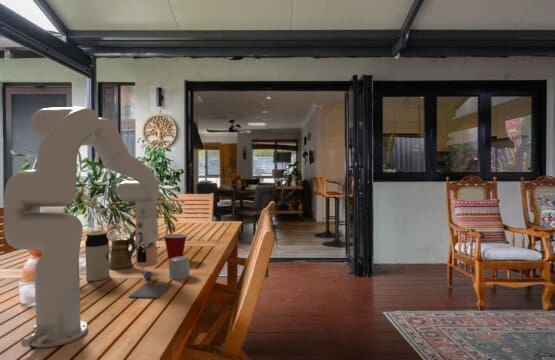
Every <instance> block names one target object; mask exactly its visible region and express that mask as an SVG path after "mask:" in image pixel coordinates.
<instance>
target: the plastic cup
mask: <svg viewBox="0 0 555 360" xmlns="http://www.w3.org/2000/svg"><path fill="white" fill-rule="evenodd" d="M162 236H163V238H164V242H165V247H166V252H167V253H166V254H167V256H168V257H167V258H168V262H169V261H170V259H171V258H173V257H180V256H184V251H185V247H186V245H185V244H186V240H187V237H188V234H184V233H169V234H164V235H162Z"/></svg>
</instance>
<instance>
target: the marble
mask: <svg viewBox="0 0 555 360" xmlns="http://www.w3.org/2000/svg"><path fill="white" fill-rule="evenodd" d="M152 276H153V274H152V272H151V271H149V270H147V271H145V272H144V274H143V278H144V279H145V280H150V279H152Z"/></svg>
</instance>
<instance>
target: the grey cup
mask: <svg viewBox="0 0 555 360" xmlns="http://www.w3.org/2000/svg"><path fill="white" fill-rule="evenodd" d="M168 270H169V271H168V272H169V273H168V274H169V275H168V277H169V279H171V280H183V279H187V278H188V277H189V276H190V274H191V272H190V259H189V257H187V256H184V255H183V256H180V257H173V258H171V259H170V261H169V260H168Z"/></svg>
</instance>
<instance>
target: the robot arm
mask: <svg viewBox="0 0 555 360" xmlns="http://www.w3.org/2000/svg"><path fill="white" fill-rule="evenodd" d="M30 126H31V128H32V129H31V130H32V131H33V132H34V134H36V135H37V136H38V137H39V138H41V141H40V143H39V145H38V149H37V158H36V168H35V169H24V170H20V171H17V172H15V173H14V174H12V175H11V176H10V177H9V179H8V181H7V183H6V185H5V188H4V193H3V194H4V196H3V232H4V233H3V234H4V238H5V240H6V242H7V244H8V245H9V246H11V247H12V248H13V249H14V248H15V249H18V250H28V251H29V250H30V251H42V252H41V254H40V257H39V258H38V260H37V262H36V264H35V267H34V271H33V272H34V273H33V274H34V275H33V276H34V297H35V325H34V326H33V331H32V332H31V334H29V335H27V336H26V337H24V338H22V340H21V341H20V344H21V347H23V348H27V347H28V346H29V347H30V346H32V347H34V348H40V349H41V348H43V349H44V348H45V349H46V348H54V347H60V346H62V345H65V344H69V343H71V342H73V341H75V340H78V339H79V338H81V337H83V335H85V334H86V333H87V332H88V326H89V325H88V323H87V322H86V321H84V320H81V288H80V284H81V283H80V249H81V243H82V238H83V233H84V232H83V229H84V227H83V223H82V222H81V220H80V219H79V218H78V217H77V216H76V215H74V214H71V213H66V212H60V211H59V212H57V211H56V212H55V211H54V212H52V211H49V212H48V211H47V212H46V211H44V212H42V211H41V208H61V207H62V208H63V207H66V206H69V205H71V204H72V203H73V202H74V201H75V199H76V197H77V185H78V184H77V181H78V179H77V178H78V176H77V174H78V170H77V169H78V154H79V151H80V149H81V147H82V146H91V147H93V148H94V151H95V152H96V154H97V155H98V158H100V160H101V162H102V163H103V166H104V167H105V168H106V169H108V170H109V171H111V172H114V173H117V174H120V175H122V176H126V177H129V178H131V179H132V180H124V181H122V182H120V183H119V184H118V185H117V187H116V191H115V192H116V195H117V197H118V199H120V200H121V201H123V202H135V218H136V219H135V229H136V231H135V237H134V238H135V239H134V240H135V243H134V244H135V246H136V249H137V250H136V249H135V252H136V251H137V262H146V251H145V249H146V244H154V245H156V246H157V243H156V242H157V241H158V240H159V225H158V224H159V223H158V214H157V213H158V201H157V199H158V198H159V196H160V187H159V182H158V179H156V177H155V176H156V175H155V174H154V171H152V170H151V168H149V167H148V166H147V165H146V164H145V163H143V162H142V161H140V160H139V159H138V158H136V157H134V156H133V155H131V153H130V152H129V150H128V148H127V146H126V143H125V142H124V140H123V138H122V136H121V133H120V132H119V130H118V128H117V126H116V125H115V123H114V122H113V121H112V120H111V119H109V118H105V117H99V115H98V113H97V112H96V111H95V110H94V109H92V108H90V107H84V106H83V107H82V106H70V107H69V106H68V107H47V108H46V107H45V108H41V109H38V110H37V111H35V112H34V113H33V115H32V117H30ZM141 245H143V247H142V246H141Z"/></svg>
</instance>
